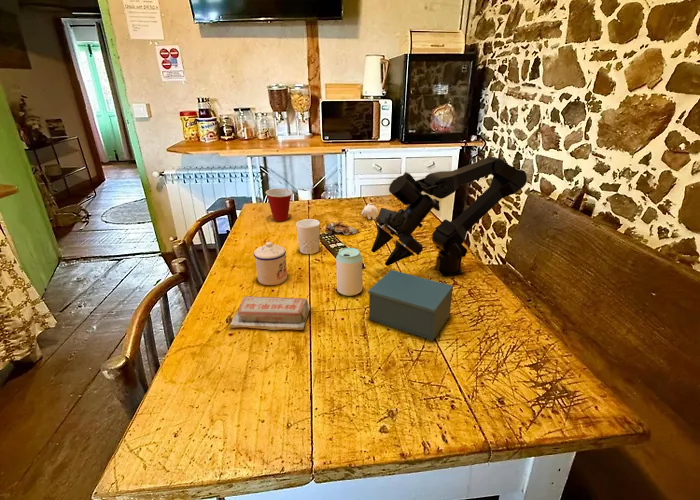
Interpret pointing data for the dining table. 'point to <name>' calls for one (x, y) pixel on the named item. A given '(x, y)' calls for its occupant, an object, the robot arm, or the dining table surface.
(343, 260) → the can
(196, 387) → the dining table surface
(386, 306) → the box
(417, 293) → the lid
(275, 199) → the plastic cup
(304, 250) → the white cup
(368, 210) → the elephant figurine
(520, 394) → the dining table surface
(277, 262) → the teacup with lid
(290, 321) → the packaged product
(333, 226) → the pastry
